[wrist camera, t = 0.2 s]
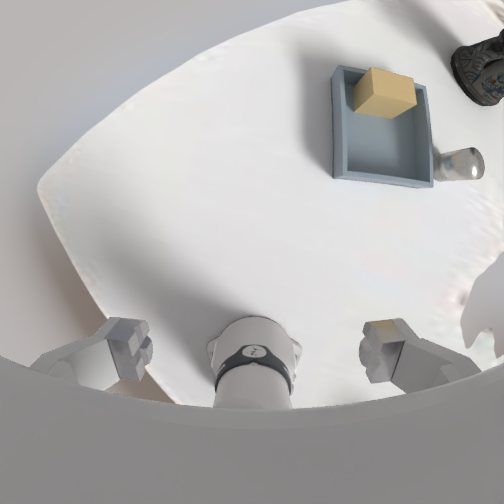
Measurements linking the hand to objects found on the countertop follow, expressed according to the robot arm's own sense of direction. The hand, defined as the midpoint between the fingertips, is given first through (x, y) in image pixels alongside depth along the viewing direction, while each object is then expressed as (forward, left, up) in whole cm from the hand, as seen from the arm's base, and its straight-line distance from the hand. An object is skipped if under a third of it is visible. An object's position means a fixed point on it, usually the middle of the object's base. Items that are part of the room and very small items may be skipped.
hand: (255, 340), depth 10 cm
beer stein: (+41, -52, -40) cm, 77 cm away
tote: (+20, -22, -40) cm, 49 cm away
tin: (+15, -37, -40) cm, 56 cm away
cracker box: (+25, -21, -39) cm, 51 cm away
